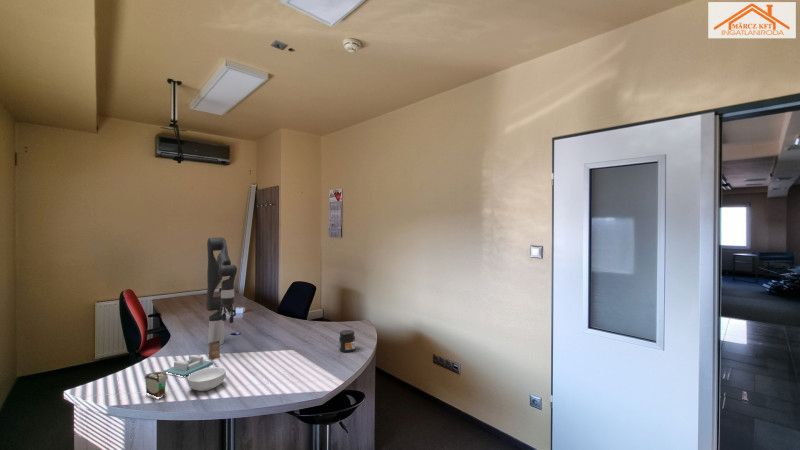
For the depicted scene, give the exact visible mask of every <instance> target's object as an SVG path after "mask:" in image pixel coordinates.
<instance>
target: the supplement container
mask: <svg viewBox="0 0 800 450" xmlns="http://www.w3.org/2000/svg"><path fill="white" fill-rule="evenodd" d="M338 341H339V342H338V343H339V345H338V347H339V348H338V350H339V351H340V352H341V353H347V354H348V353H351V352H354V351H355V350H356V335H355V331H354V330H352V329H343V330H341V331H340V332H339V337H338Z"/></svg>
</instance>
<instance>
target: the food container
mask: <svg viewBox="0 0 800 450" xmlns="http://www.w3.org/2000/svg"><path fill="white" fill-rule="evenodd" d="M144 379H145V391H146V393H149V394H151V395H154V396H156V397H161V396H162V395H164V394H165V395H166V387H167V386H166V385H167V380H168V379H169V375H167V374H166V372H163V371H156V372H151V373H147V374H145V375H144ZM146 393H145V394H146ZM165 395H164V396H165Z"/></svg>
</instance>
